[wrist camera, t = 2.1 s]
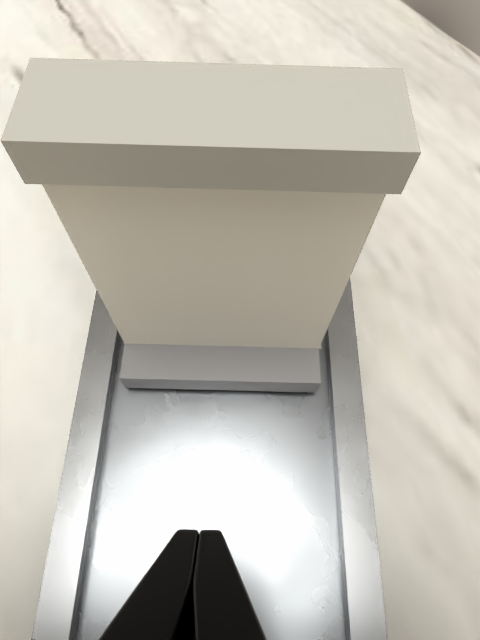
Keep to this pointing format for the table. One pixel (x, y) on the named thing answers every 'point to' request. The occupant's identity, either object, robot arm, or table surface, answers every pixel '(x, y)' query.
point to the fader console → (219, 494)
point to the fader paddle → (215, 203)
